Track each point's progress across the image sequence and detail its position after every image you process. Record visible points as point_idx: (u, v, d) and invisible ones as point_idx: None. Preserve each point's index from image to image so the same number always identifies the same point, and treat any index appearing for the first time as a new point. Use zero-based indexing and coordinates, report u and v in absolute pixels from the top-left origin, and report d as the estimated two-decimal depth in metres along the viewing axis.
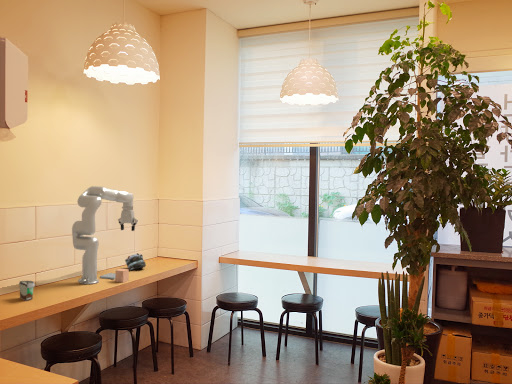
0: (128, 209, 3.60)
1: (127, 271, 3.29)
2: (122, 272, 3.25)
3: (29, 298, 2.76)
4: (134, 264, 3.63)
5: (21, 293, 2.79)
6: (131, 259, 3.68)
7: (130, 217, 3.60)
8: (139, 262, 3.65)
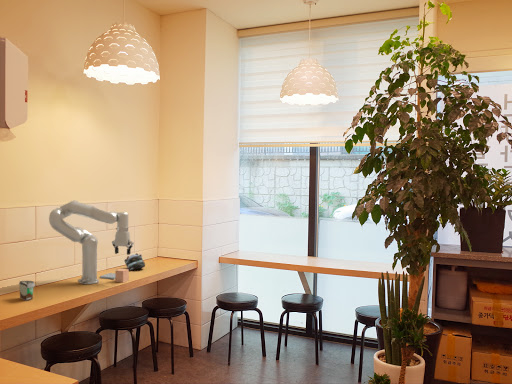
0: (123, 231, 3.24)
1: (127, 271, 3.29)
2: (122, 272, 3.25)
3: (29, 298, 2.76)
4: (134, 264, 3.63)
5: (21, 293, 2.79)
6: (130, 259, 3.67)
7: (125, 239, 3.24)
8: (138, 262, 3.65)
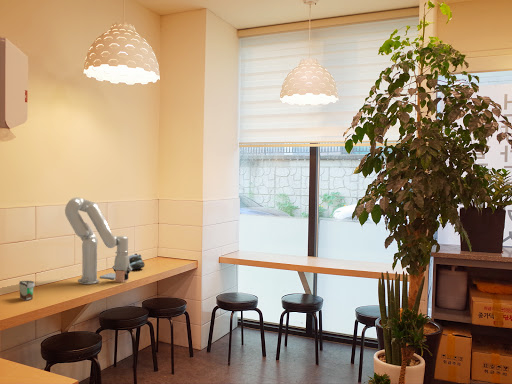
0: (122, 255, 3.25)
1: None
2: (122, 272, 3.25)
3: (29, 298, 2.76)
4: (133, 264, 3.62)
5: (21, 293, 2.79)
6: (130, 259, 3.67)
7: (125, 264, 3.25)
8: (138, 262, 3.64)
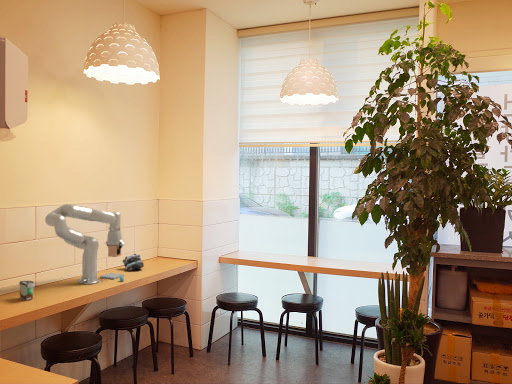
0: (115, 230, 3.33)
1: None
2: (114, 247, 3.34)
3: (29, 298, 2.76)
4: (132, 265, 3.61)
5: (21, 293, 2.79)
6: (129, 260, 3.65)
7: (117, 239, 3.33)
8: (137, 262, 3.63)
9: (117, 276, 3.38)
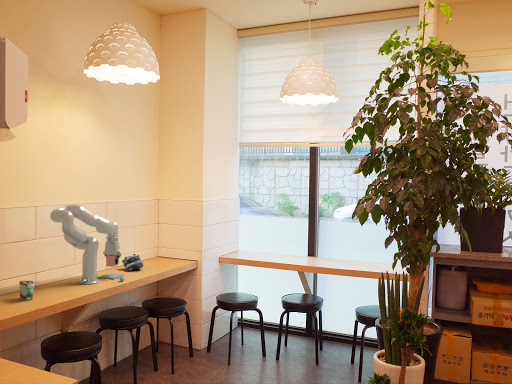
0: (112, 240, 3.36)
1: None
2: (112, 257, 3.37)
3: (29, 298, 2.76)
4: (132, 265, 3.61)
5: (21, 293, 2.79)
6: (128, 260, 3.65)
7: (115, 249, 3.37)
8: (137, 263, 3.63)
9: (117, 276, 3.38)
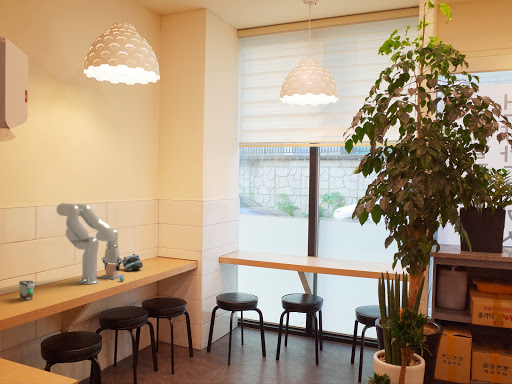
0: (112, 248, 3.37)
1: None
2: (112, 266, 3.37)
3: (29, 298, 2.76)
4: (132, 265, 3.60)
5: (21, 293, 2.79)
6: (128, 260, 3.64)
7: (114, 256, 3.37)
8: (137, 263, 3.62)
9: (117, 276, 3.38)
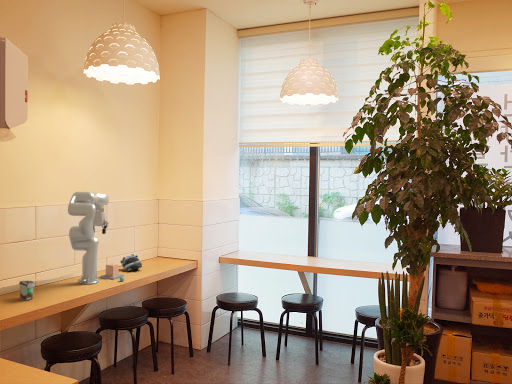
0: (98, 211, 3.45)
1: (117, 266, 3.41)
2: (112, 266, 3.37)
3: (29, 298, 2.76)
4: (131, 265, 3.59)
5: (21, 293, 2.79)
6: (127, 260, 3.63)
7: (101, 220, 3.45)
8: (136, 263, 3.61)
9: (117, 276, 3.38)
